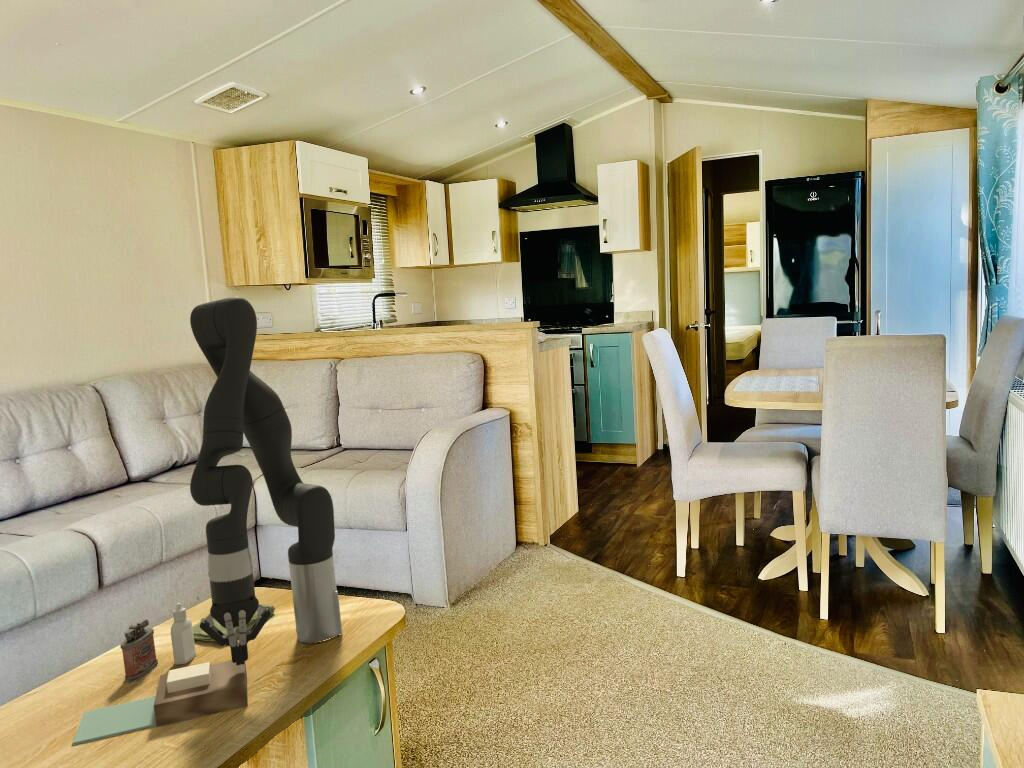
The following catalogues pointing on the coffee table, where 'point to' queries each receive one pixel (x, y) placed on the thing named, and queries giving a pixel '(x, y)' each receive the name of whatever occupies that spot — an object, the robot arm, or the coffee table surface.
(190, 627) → the eye dropper bottle
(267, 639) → the coffee table surface
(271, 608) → the washcloth
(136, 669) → the lighter
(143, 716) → the mat
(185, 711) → the wooden block
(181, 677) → the tile
